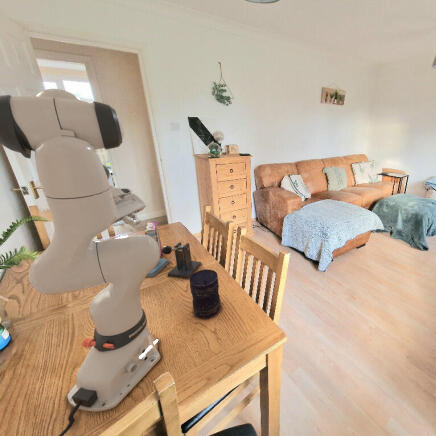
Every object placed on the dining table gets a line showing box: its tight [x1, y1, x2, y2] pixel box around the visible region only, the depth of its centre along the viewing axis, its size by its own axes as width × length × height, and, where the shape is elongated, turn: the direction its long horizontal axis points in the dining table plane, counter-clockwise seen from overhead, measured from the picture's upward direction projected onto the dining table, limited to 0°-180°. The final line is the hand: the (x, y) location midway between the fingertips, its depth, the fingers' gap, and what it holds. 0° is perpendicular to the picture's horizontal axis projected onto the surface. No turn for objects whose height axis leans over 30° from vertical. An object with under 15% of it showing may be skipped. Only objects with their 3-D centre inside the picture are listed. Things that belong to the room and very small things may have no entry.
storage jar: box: [188, 269, 221, 320], centre depth 89 cm, size 10×10×15 cm
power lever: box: [161, 244, 185, 255], centre depth 104 cm, size 14×4×4 cm, turn 173°
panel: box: [146, 257, 170, 278], centre depth 113 cm, size 12×10×4 cm
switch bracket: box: [167, 241, 202, 280], centre depth 112 cm, size 12×10×14 cm
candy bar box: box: [144, 221, 163, 258], centre depth 123 cm, size 11×5×16 cm, turn 25°
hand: (137, 224), depth 96 cm, fingers closed
